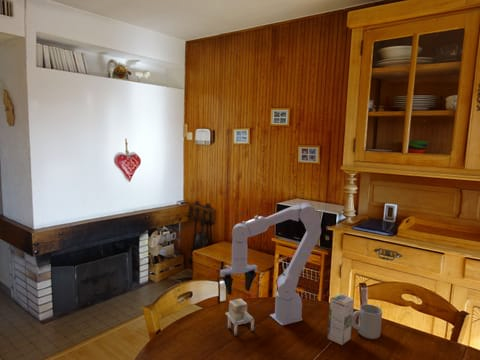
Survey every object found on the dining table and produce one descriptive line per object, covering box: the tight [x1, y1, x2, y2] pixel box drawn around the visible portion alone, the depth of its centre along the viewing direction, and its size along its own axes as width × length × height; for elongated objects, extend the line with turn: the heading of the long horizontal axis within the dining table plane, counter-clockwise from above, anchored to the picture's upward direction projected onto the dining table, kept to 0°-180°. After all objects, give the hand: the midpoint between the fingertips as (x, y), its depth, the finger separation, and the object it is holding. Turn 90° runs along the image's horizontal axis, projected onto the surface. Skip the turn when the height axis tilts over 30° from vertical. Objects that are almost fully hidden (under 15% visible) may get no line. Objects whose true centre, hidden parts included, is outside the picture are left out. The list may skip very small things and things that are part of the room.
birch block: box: [228, 298, 248, 319], centre depth 131 cm, size 5×5×5 cm
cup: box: [352, 303, 383, 340], centre depth 121 cm, size 7×10×9 cm
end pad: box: [224, 311, 249, 322], centre depth 131 cm, size 7×7×1 cm
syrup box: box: [326, 293, 355, 346], centre depth 117 cm, size 6×6×14 cm
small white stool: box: [227, 311, 255, 336], centre depth 122 cm, size 8×6×4 cm
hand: (238, 292), depth 130 cm, fingers open, 7 cm apart
